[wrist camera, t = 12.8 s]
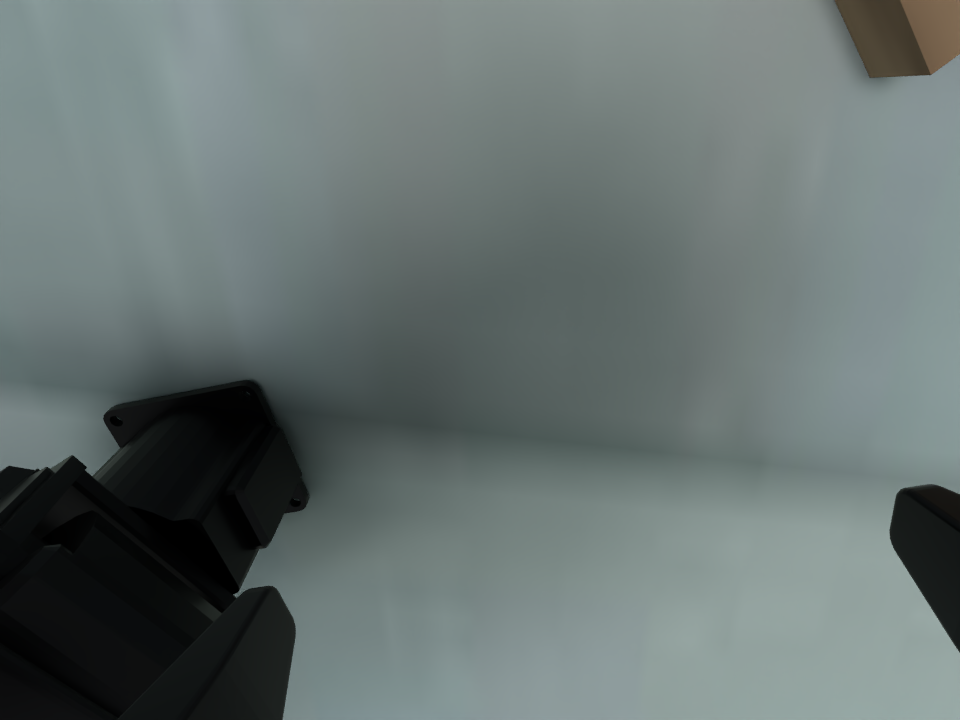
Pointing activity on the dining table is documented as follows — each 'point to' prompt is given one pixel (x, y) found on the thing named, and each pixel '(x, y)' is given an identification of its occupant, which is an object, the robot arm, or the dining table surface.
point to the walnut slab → (903, 34)
